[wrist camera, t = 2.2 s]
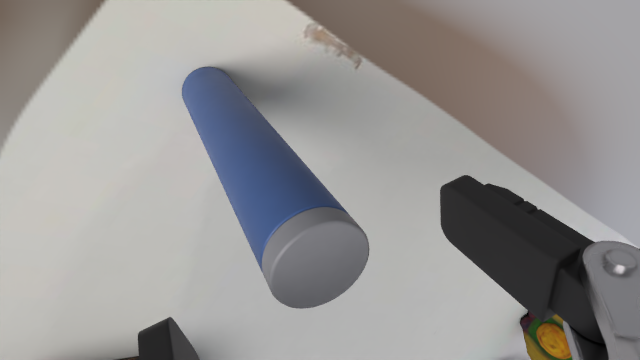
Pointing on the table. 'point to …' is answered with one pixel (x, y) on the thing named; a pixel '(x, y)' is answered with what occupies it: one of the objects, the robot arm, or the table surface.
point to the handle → (275, 197)
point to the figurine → (545, 338)
